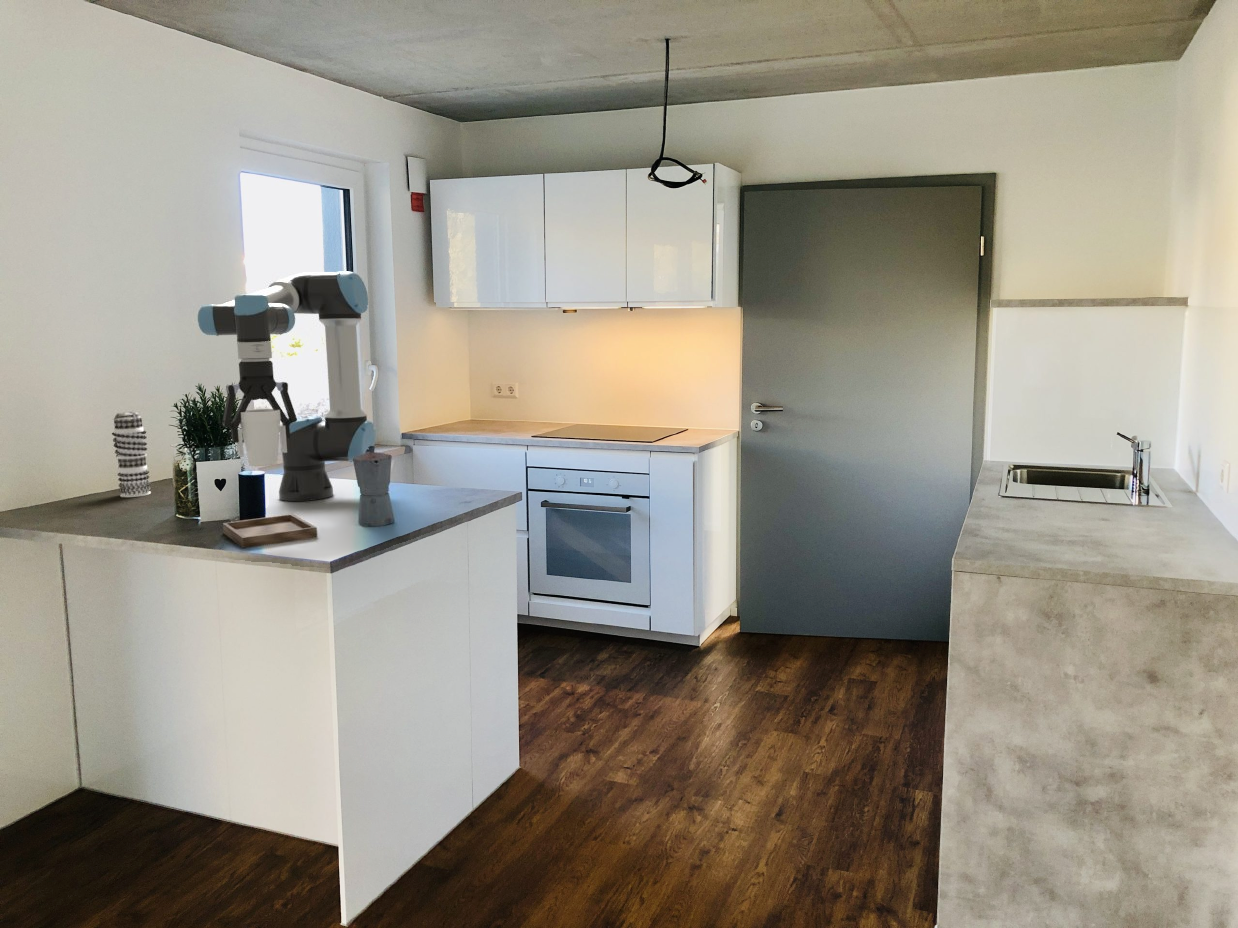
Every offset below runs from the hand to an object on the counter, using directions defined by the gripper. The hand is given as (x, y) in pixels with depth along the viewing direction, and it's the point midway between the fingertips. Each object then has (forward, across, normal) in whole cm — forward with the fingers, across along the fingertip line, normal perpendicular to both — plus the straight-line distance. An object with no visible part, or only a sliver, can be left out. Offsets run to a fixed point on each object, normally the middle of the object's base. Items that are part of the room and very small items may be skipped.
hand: (262, 454), depth 230 cm
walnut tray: (+20, 0, 0) cm, 20 cm away
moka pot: (+20, +26, -3) cm, 33 cm away
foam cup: (+3, 0, 0) cm, 3 cm away
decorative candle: (+20, -18, +84) cm, 88 cm away
